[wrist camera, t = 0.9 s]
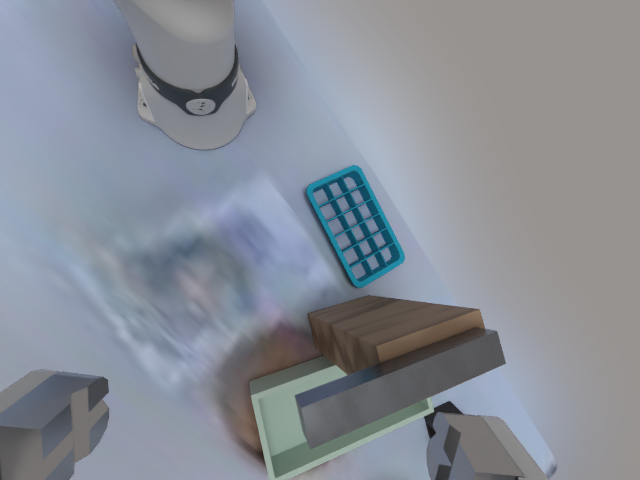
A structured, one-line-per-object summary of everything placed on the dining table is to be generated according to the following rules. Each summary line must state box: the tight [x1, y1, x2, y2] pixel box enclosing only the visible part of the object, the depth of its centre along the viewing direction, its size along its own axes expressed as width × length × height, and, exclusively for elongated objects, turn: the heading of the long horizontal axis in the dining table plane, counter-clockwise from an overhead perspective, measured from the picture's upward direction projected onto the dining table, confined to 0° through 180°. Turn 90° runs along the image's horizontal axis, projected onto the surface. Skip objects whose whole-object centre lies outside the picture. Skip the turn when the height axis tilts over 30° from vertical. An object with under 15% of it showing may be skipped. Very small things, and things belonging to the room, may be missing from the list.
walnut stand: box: [308, 295, 495, 412], centre depth 41 cm, size 6×12×26 cm, turn 104°
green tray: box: [249, 355, 434, 480], centre depth 48 cm, size 13×28×6 cm, turn 104°
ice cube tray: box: [306, 165, 405, 288], centre depth 55 cm, size 12×20×3 cm, turn 28°
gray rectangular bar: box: [295, 327, 506, 449], centre depth 26 cm, size 3×19×2 cm, turn 104°
